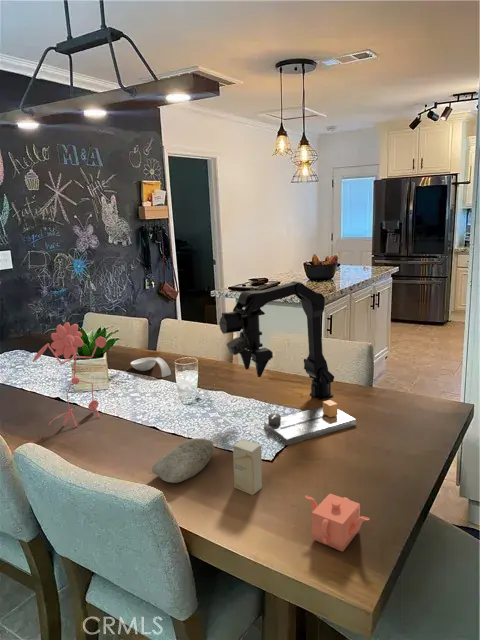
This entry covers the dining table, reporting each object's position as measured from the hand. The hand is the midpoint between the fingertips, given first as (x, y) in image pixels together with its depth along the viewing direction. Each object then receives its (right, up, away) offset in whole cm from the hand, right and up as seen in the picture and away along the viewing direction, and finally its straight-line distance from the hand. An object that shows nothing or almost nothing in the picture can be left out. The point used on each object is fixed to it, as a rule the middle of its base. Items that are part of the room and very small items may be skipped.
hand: (253, 373), depth 164 cm
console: (+18, -16, -9) cm, 26 cm away
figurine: (-63, -17, +7) cm, 65 cm away
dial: (+7, -15, -10) cm, 19 cm away
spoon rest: (-45, -5, +53) cm, 69 cm away
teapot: (+16, -29, -61) cm, 69 cm away
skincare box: (-2, -25, -41) cm, 48 cm away
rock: (-19, -24, -32) cm, 44 cm away
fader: (+25, -13, -6) cm, 29 cm away
